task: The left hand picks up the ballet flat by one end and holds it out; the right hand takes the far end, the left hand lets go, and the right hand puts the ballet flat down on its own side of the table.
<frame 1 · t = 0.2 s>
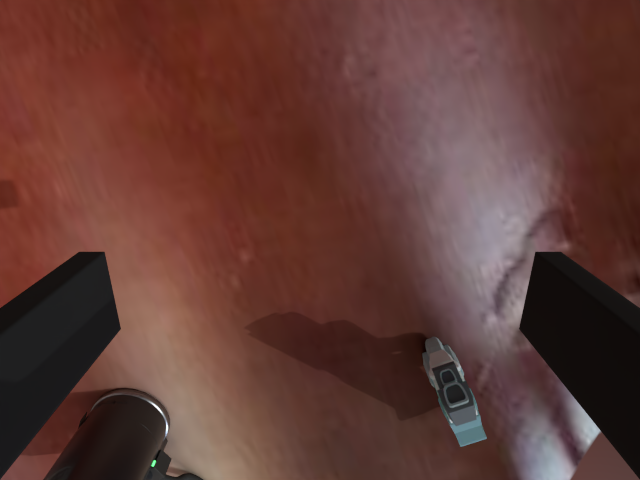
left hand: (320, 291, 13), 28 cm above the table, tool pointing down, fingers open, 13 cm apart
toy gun: (439, 359, 47), on the table
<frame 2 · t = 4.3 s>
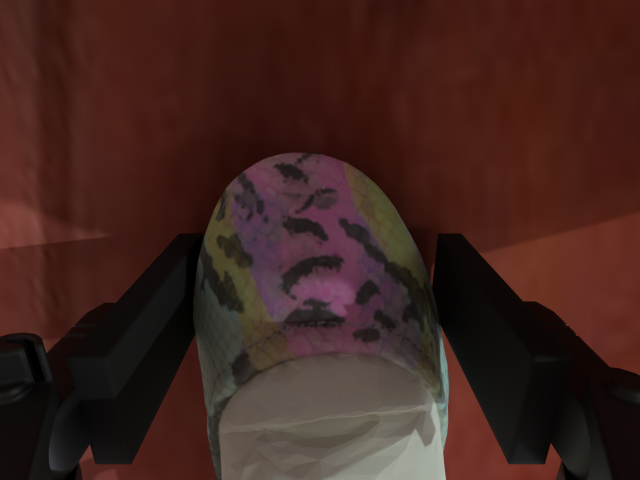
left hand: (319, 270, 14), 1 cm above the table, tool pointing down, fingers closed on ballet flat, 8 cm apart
ballet flat: (324, 432, 17), on the table, touching left hand
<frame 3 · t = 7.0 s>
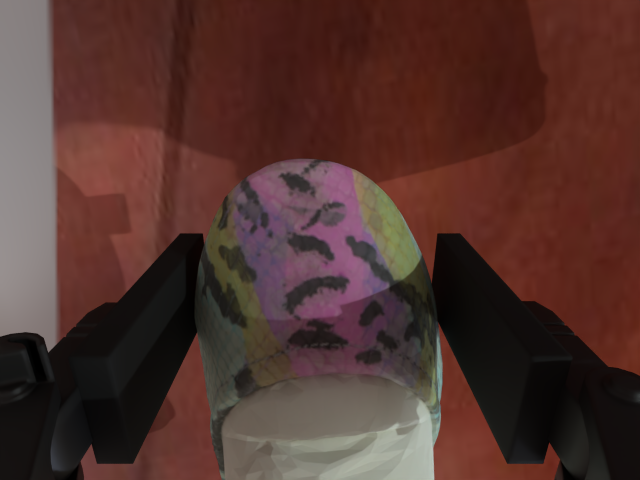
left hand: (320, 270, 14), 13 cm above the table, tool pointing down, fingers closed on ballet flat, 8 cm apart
ballet flat: (319, 406, 18), point 11 cm above the table, tilted 9°, touching left hand
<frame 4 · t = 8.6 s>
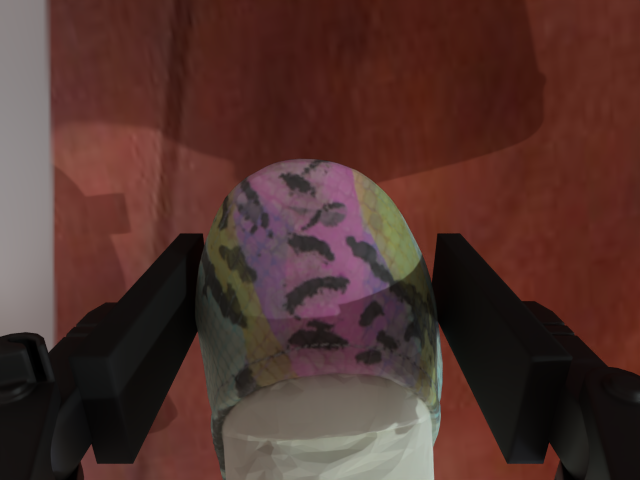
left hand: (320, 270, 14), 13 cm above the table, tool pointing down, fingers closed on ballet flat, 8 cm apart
ballet flat: (319, 404, 18), point 11 cm above the table, tilted 10°, touching left hand, right hand
when the left hand's fingers open (13 cm above the table, at t = 9.7 s): ballet flat stays where it is, held by the right hand.
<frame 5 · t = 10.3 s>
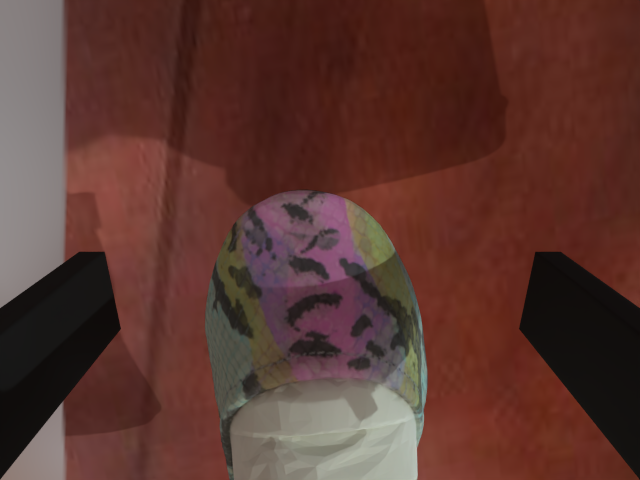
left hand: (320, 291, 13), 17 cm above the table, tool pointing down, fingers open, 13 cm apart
ballet flat: (316, 409, 20), point 12 cm above the table, tilted 9°, touching right hand
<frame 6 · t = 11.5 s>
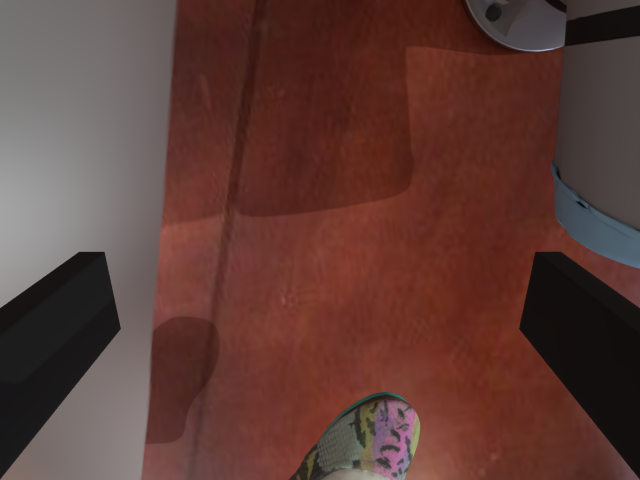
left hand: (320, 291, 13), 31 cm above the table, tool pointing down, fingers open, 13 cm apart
ballet flat: (330, 460, 40), point 13 cm above the table, tilted 9°, touching right hand
when the right hand's fingers open (6 cm above the table, at t = 14.2 s): ballet flat stays where it is, on the table.
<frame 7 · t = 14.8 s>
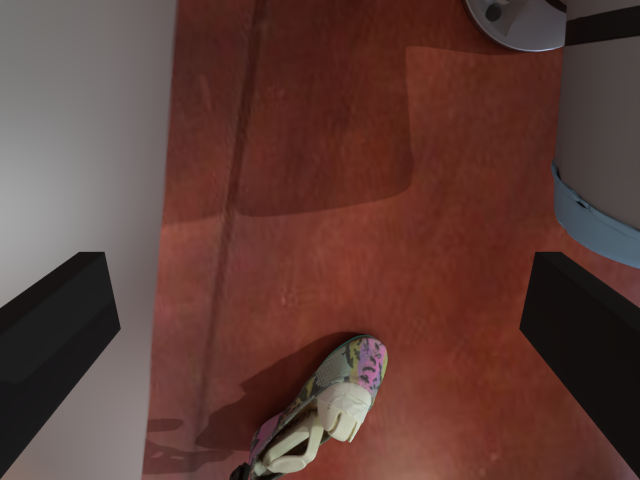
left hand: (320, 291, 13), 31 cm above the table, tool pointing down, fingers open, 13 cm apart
ballet flat: (318, 395, 54), on the table
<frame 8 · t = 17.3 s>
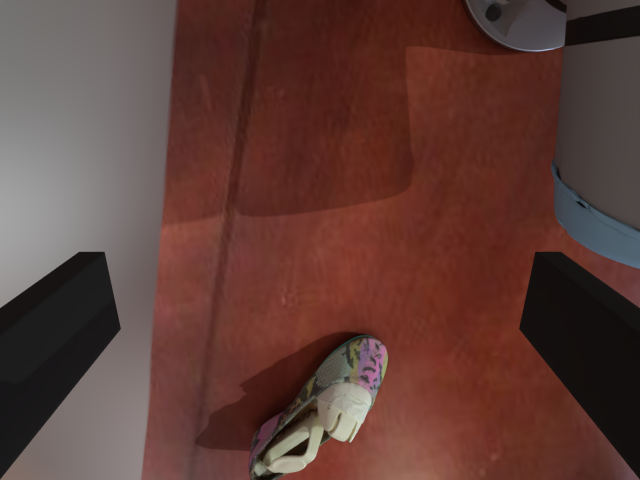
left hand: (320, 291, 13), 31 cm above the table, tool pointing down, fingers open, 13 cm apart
ballet flat: (318, 395, 54), on the table
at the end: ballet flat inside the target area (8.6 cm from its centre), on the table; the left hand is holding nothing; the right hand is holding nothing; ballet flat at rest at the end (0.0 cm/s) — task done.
